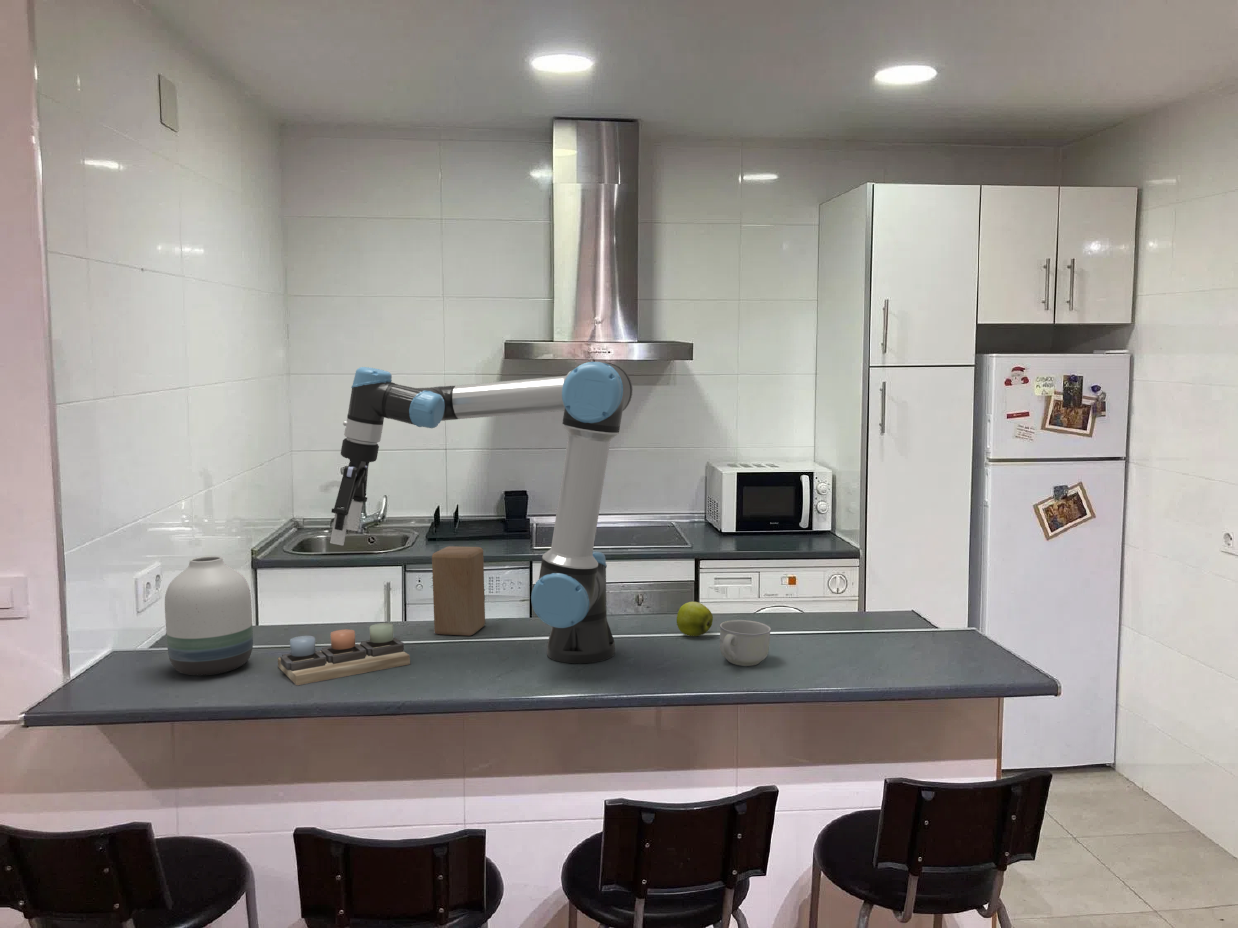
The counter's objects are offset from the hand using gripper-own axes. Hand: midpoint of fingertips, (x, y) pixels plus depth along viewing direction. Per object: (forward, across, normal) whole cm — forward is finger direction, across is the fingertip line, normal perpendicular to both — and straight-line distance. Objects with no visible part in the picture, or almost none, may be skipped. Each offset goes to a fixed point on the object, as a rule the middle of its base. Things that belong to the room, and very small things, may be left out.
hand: (344, 536), depth 206 cm
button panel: (+27, +3, +5) cm, 28 cm away
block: (+24, -23, +27) cm, 43 cm away
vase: (+34, +3, -22) cm, 40 cm away
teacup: (+8, +10, +88) cm, 89 cm away
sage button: (+22, -1, +12) cm, 24 cm away
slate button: (+24, +7, -3) cm, 26 cm away
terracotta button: (+23, +3, +4) cm, 24 cm away
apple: (+11, -12, +81) cm, 83 cm away
